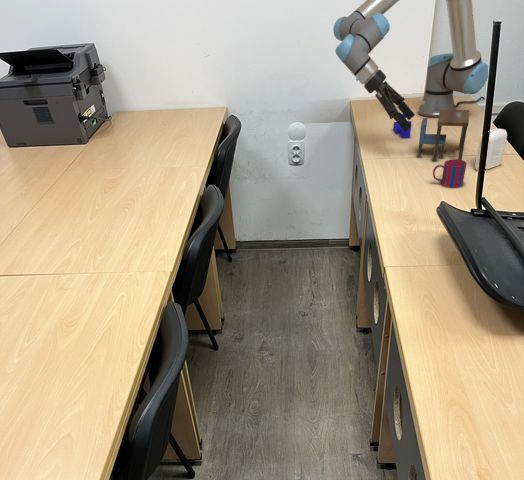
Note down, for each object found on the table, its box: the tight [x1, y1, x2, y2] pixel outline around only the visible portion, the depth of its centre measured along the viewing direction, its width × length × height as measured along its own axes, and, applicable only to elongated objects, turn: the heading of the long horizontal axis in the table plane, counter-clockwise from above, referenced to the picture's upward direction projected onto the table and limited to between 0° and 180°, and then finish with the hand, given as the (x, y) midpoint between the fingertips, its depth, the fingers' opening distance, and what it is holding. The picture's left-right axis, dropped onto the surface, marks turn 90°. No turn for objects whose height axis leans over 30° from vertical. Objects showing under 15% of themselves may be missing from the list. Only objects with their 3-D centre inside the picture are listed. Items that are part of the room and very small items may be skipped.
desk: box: [432, 109, 470, 162], centre depth 187 cm, size 10×15×14 cm, turn 163°
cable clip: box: [392, 113, 412, 139], centre depth 211 cm, size 12×4×6 cm, turn 179°
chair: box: [417, 117, 447, 159], centre depth 189 cm, size 9×8×12 cm
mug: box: [432, 158, 467, 188], centre depth 168 cm, size 7×10×7 cm
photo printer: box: [474, 128, 508, 171], centre depth 176 cm, size 10×4×12 cm, turn 123°
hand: (410, 123), depth 188 cm, fingers open, 13 cm apart
